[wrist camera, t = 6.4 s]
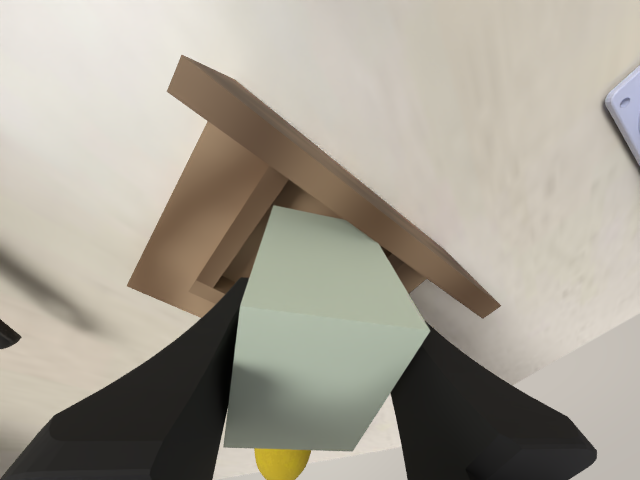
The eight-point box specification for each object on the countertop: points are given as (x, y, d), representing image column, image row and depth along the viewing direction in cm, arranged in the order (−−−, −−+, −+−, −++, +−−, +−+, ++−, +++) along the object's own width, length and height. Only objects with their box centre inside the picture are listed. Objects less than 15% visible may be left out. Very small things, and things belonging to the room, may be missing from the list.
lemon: (254, 378, 25) (234, 482, 18) (304, 368, 24) (303, 470, 17) (272, 405, 27) (260, 505, 20) (317, 396, 27) (321, 495, 20)
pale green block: (367, 224, 12) (430, 330, 6) (330, 324, 16) (348, 458, 10) (273, 205, 12) (239, 305, 5) (255, 315, 15) (222, 455, 9)
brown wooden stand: (444, 250, 18) (501, 305, 13) (320, 359, 24) (324, 428, 19) (234, 79, 12) (181, 54, 7) (135, 277, 18) (64, 345, 13)
